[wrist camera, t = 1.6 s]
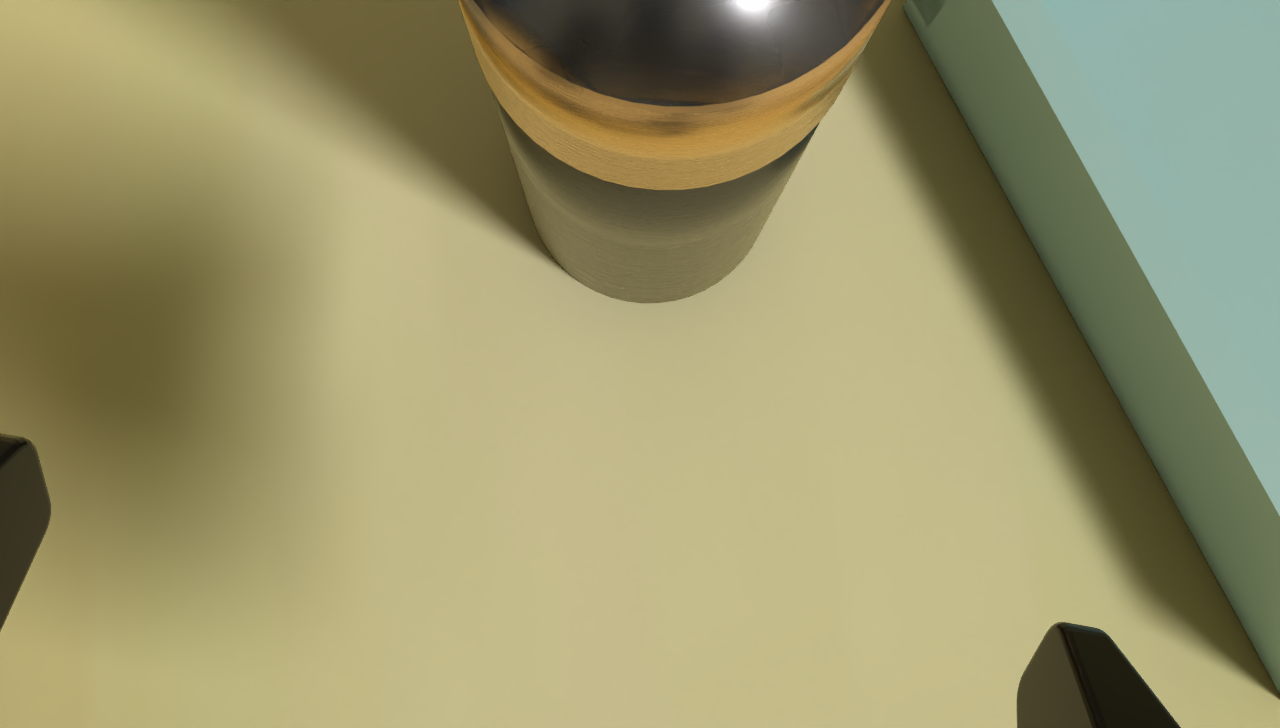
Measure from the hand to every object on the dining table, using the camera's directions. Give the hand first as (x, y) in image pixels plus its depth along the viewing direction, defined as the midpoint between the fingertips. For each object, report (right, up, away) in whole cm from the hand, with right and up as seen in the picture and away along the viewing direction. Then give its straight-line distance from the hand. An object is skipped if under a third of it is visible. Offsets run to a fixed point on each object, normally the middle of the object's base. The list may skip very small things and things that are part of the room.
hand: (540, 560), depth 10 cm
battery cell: (+1, +5, +14) cm, 15 cm away
